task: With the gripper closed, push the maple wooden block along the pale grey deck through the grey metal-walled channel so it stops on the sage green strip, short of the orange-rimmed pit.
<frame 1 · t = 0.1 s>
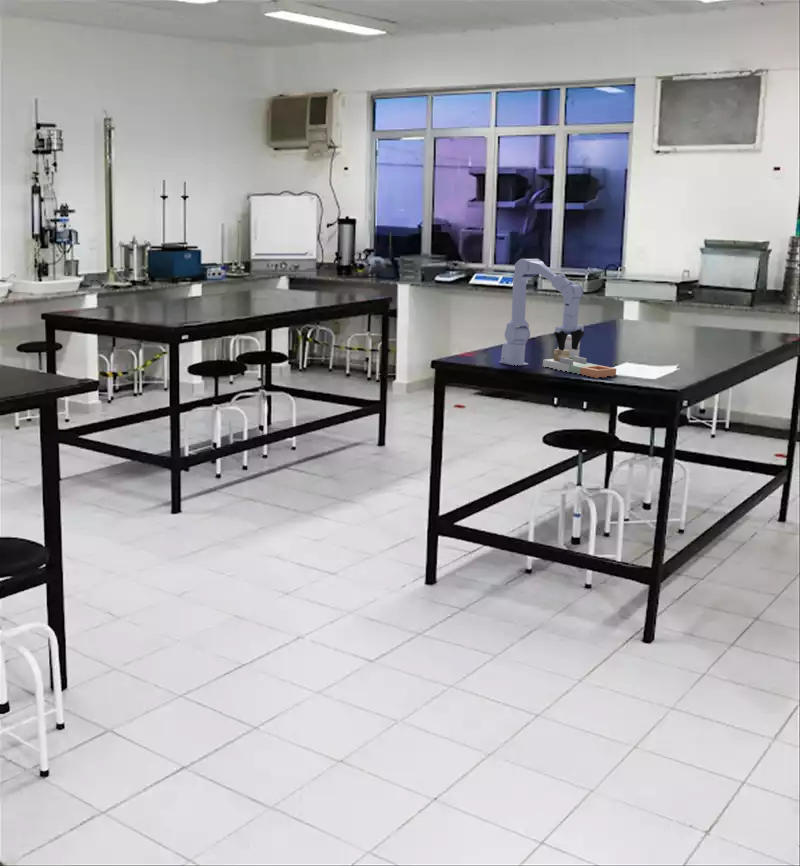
hand: (567, 349, 404), 10 cm above the table, tool pointing down, fingers open, 7 cm apart
channel deck: (574, 370, 418), on the table
maple block: (561, 360, 423), point 3 cm above the table, touching channel deck
ink box: (567, 362, 439), on the table
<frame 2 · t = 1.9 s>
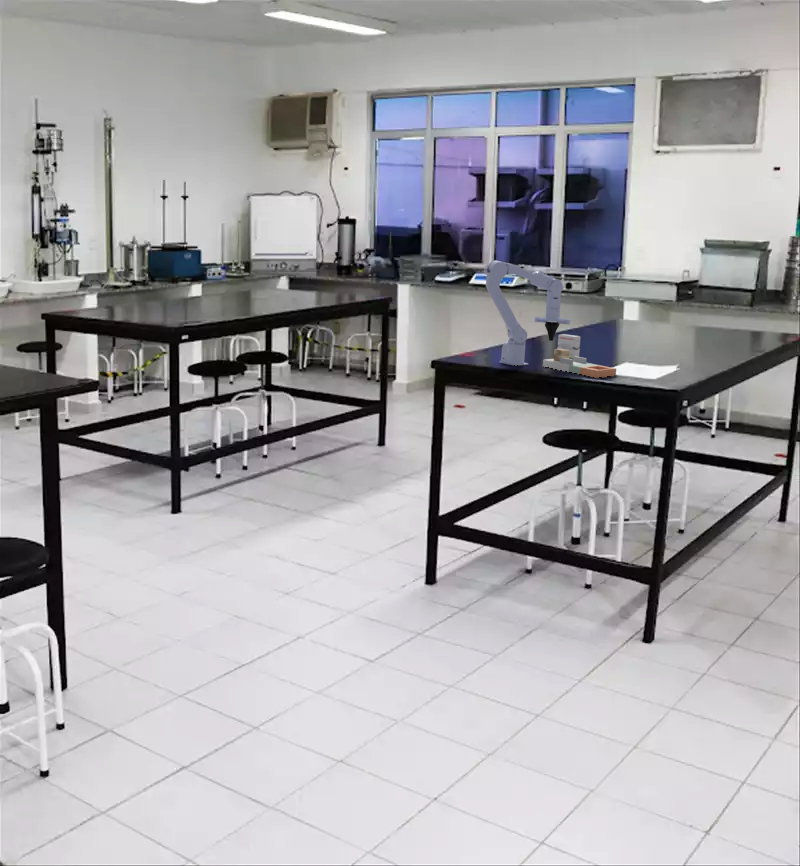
hand: (551, 340, 426), 10 cm above the table, tool pointing down, fingers closed
nothing on the table moved.
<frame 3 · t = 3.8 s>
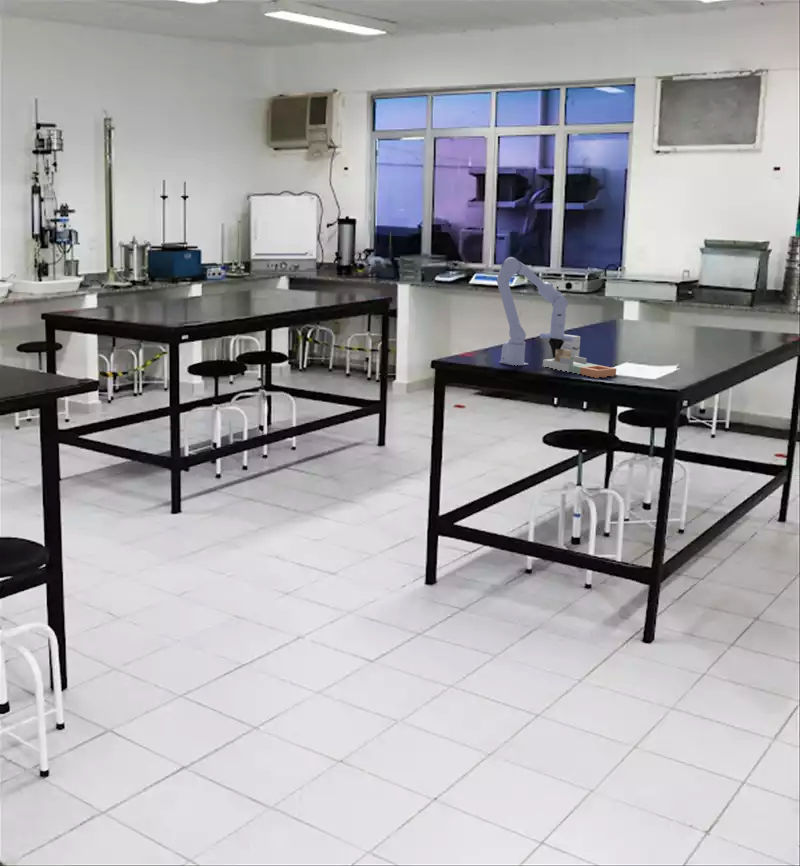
hand: (555, 357, 425), 4 cm above the table, tool pointing down, fingers closed
maple block: (562, 360, 422), point 3 cm above the table, touching gripper
everything else where it was.
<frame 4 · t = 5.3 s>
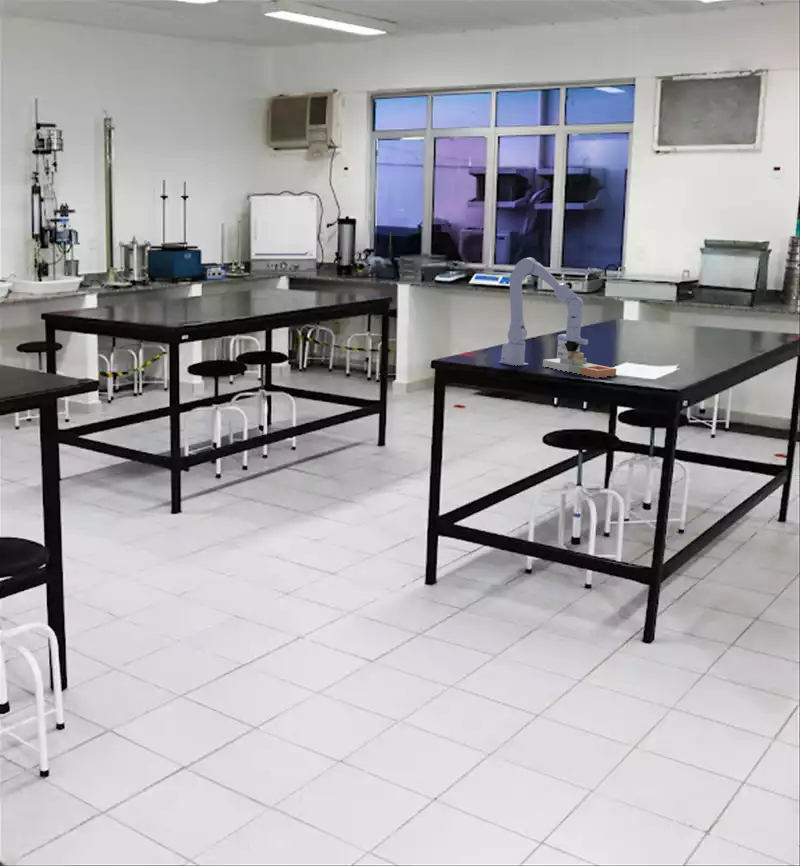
hand: (571, 359, 419), 4 cm above the table, tool pointing down, fingers closed, pressing on maple block
maple block: (574, 363, 416), point 3 cm above the table, touching channel deck, gripper
everything else where it was.
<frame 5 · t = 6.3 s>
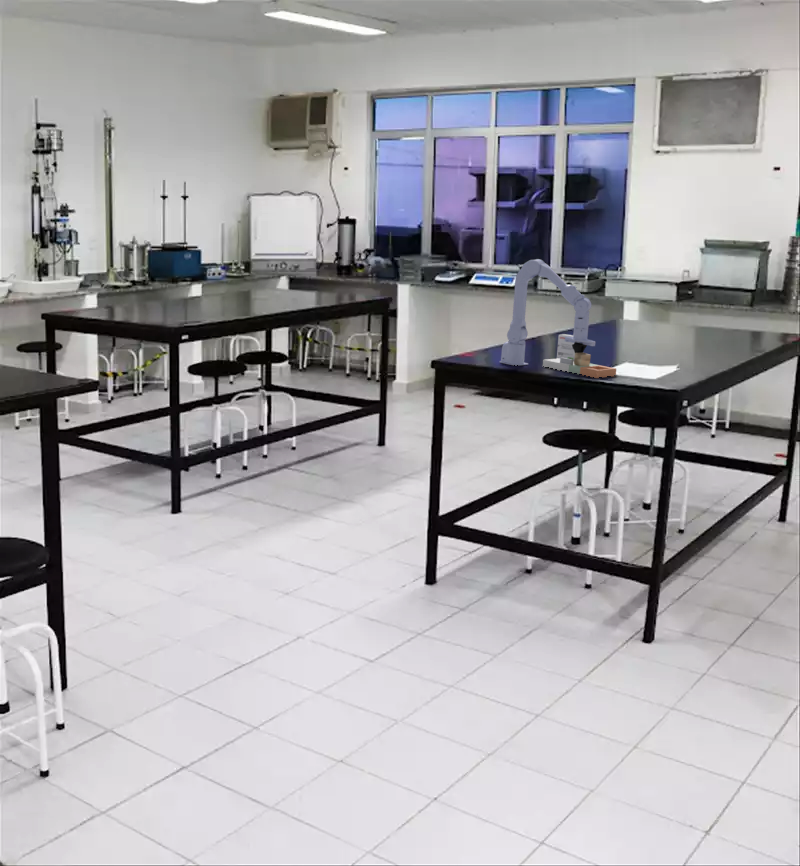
hand: (578, 361, 416), 4 cm above the table, tool pointing down, fingers closed, pressing on maple block
maple block: (581, 364, 413), point 3 cm above the table, touching channel deck, gripper
everything else where it was.
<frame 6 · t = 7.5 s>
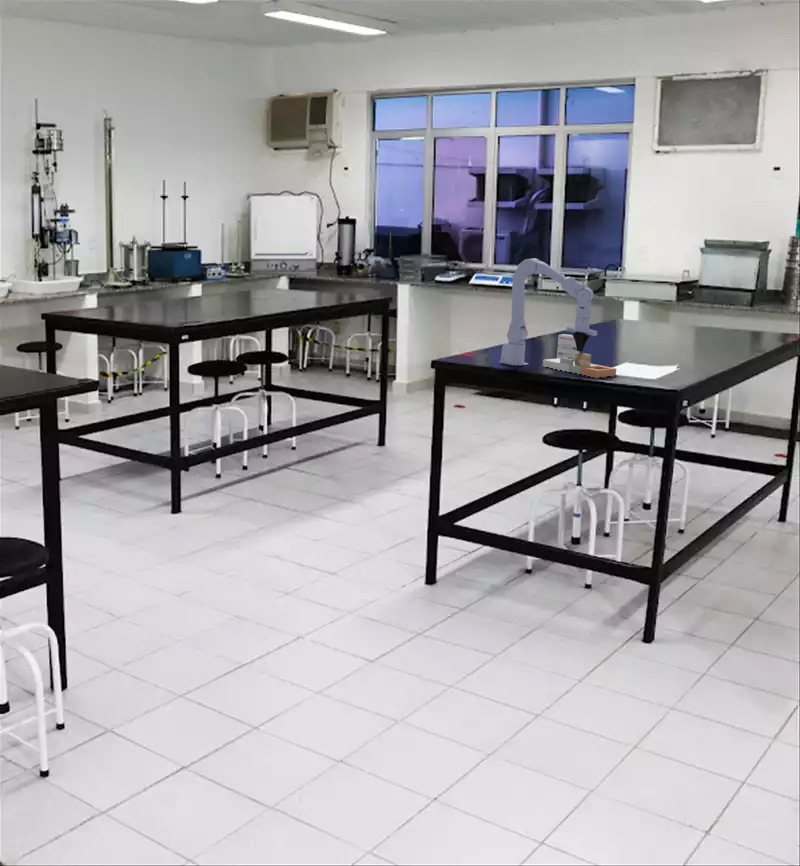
hand: (579, 351, 414), 8 cm above the table, tool pointing down, fingers closed
maple block: (582, 365, 413), point 3 cm above the table, touching channel deck
everything else where it was.
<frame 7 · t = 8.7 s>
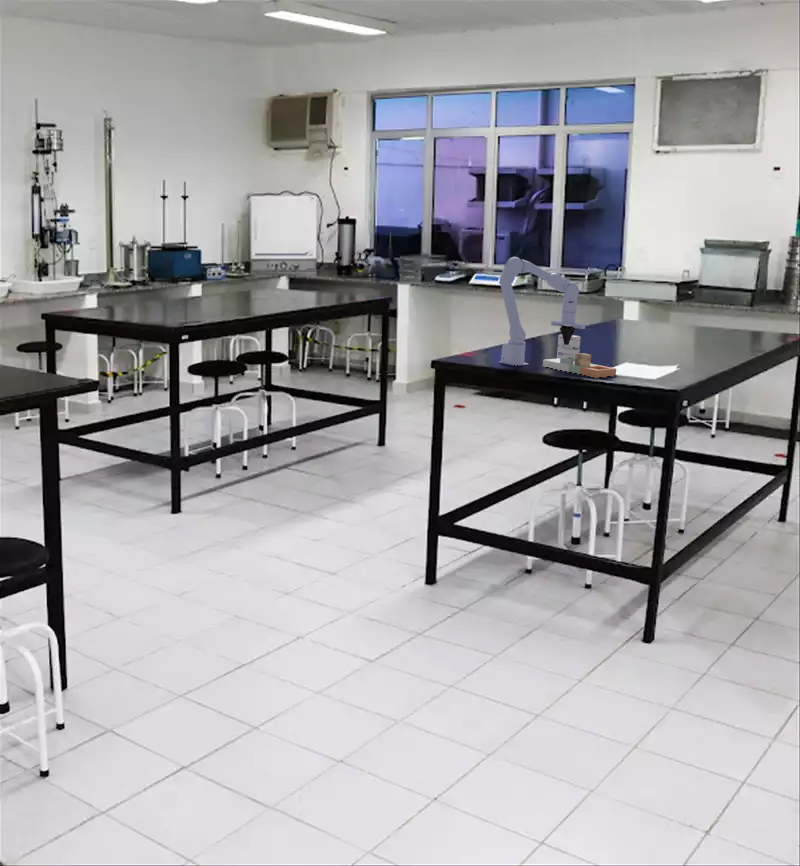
hand: (566, 344, 423), 9 cm above the table, tool pointing down, fingers closed
nothing on the table moved.
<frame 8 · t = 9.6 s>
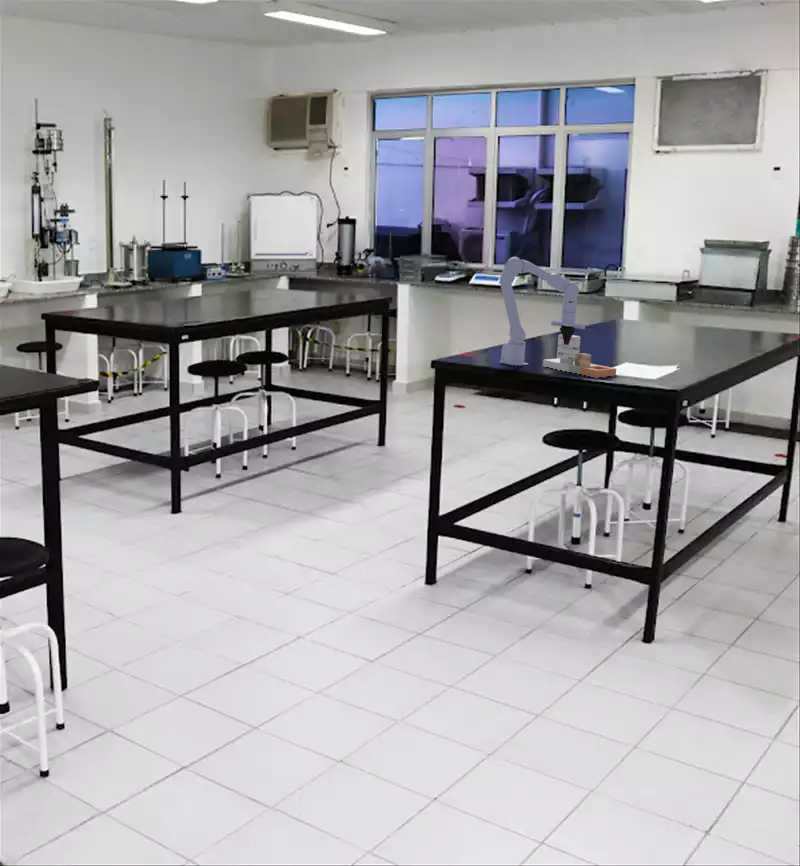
hand: (566, 344, 423), 9 cm above the table, tool pointing down, fingers closed
nothing on the table moved.
at the end: maple block 1.1 cm from the target spot, point 3.0 cm above the table; maple block tilted 0° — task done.
